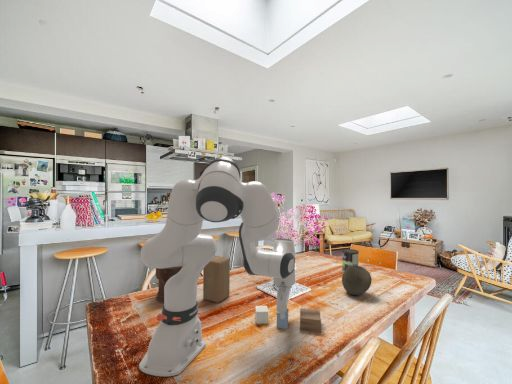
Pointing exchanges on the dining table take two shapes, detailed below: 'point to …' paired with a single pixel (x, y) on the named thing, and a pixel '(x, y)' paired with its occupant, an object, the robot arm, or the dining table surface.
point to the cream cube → (261, 314)
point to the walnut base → (310, 320)
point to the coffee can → (349, 258)
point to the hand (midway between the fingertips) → (283, 312)
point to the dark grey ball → (356, 280)
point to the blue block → (282, 320)
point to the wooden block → (216, 279)
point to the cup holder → (164, 280)
